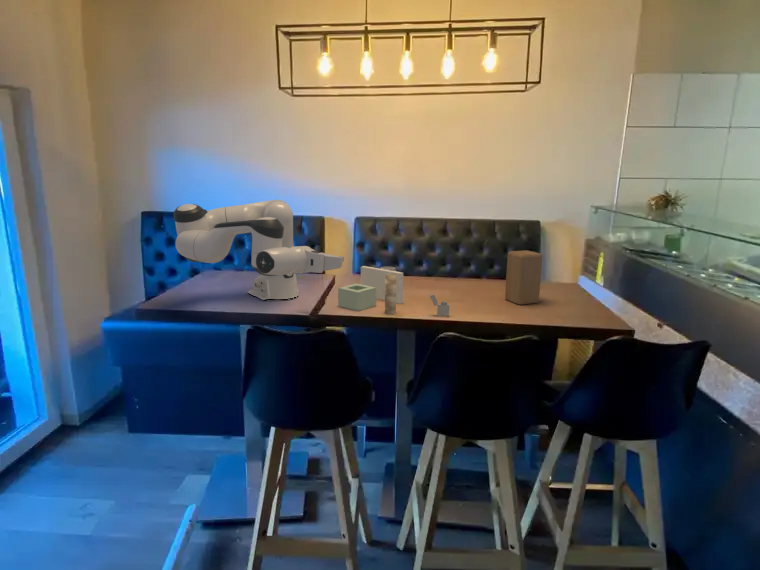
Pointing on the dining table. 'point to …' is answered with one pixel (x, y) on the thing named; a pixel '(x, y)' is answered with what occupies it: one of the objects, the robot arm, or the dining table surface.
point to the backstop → (381, 281)
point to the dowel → (390, 293)
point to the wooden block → (523, 277)
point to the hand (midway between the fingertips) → (333, 257)
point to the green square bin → (357, 297)
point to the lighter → (440, 306)
